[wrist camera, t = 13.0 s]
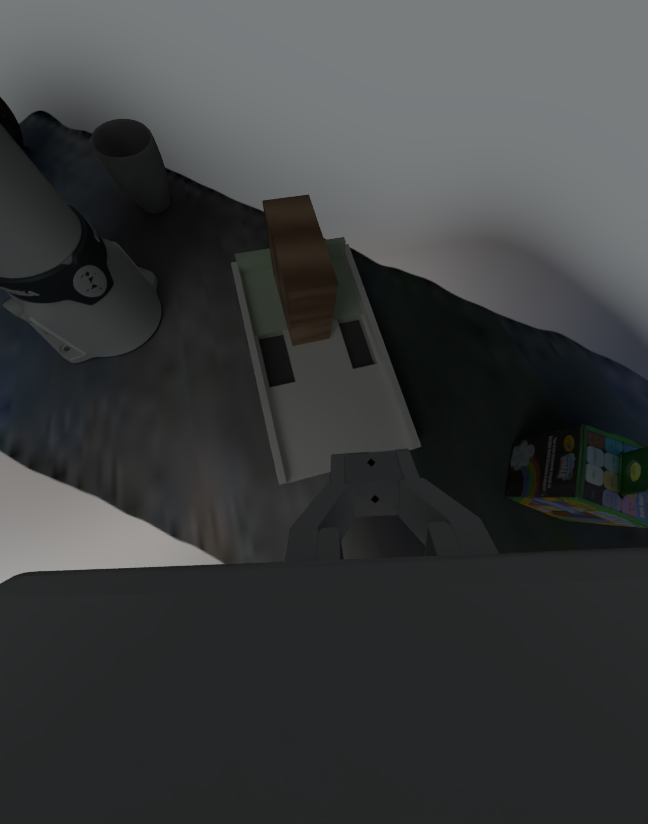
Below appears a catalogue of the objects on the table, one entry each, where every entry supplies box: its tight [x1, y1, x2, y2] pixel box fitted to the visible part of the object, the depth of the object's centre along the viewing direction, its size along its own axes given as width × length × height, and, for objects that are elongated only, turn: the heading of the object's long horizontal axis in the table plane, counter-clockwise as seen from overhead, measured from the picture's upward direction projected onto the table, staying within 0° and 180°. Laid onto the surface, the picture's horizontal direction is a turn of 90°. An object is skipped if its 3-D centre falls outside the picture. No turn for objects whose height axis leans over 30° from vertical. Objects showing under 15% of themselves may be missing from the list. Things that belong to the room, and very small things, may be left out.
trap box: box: [231, 237, 421, 485], centre depth 41 cm, size 36×20×4 cm, turn 15°
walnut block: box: [263, 195, 338, 346], centre depth 38 cm, size 14×6×12 cm, turn 15°
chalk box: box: [505, 424, 648, 528], centre depth 33 cm, size 9×9×15 cm
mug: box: [88, 119, 170, 214], centre depth 45 cm, size 12×9×10 cm
